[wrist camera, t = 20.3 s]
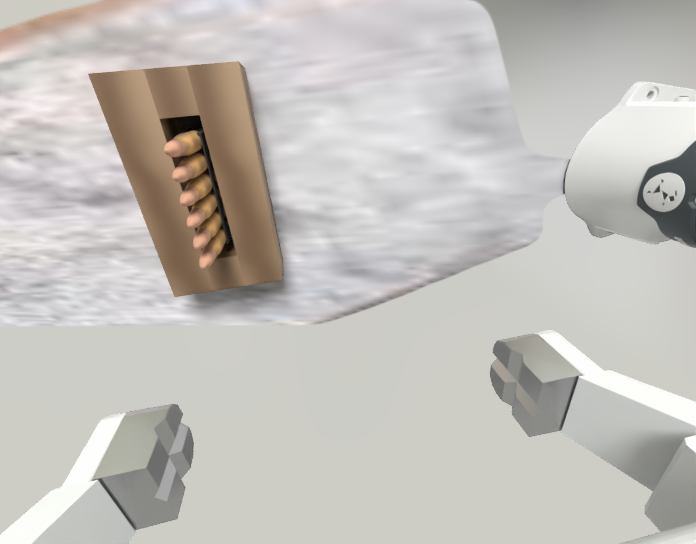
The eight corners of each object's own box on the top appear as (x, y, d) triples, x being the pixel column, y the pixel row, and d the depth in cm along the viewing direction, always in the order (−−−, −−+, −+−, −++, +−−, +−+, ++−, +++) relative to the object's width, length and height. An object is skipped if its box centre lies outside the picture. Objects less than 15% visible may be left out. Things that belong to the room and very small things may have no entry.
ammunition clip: (235, 228, 37) (217, 277, 27) (218, 230, 37) (193, 280, 27) (210, 125, 33) (176, 135, 22) (190, 127, 32) (147, 138, 22)
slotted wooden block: (244, 67, 31) (238, 61, 26) (282, 260, 40) (282, 279, 36) (117, 78, 30) (88, 73, 25) (186, 275, 39) (174, 297, 34)
